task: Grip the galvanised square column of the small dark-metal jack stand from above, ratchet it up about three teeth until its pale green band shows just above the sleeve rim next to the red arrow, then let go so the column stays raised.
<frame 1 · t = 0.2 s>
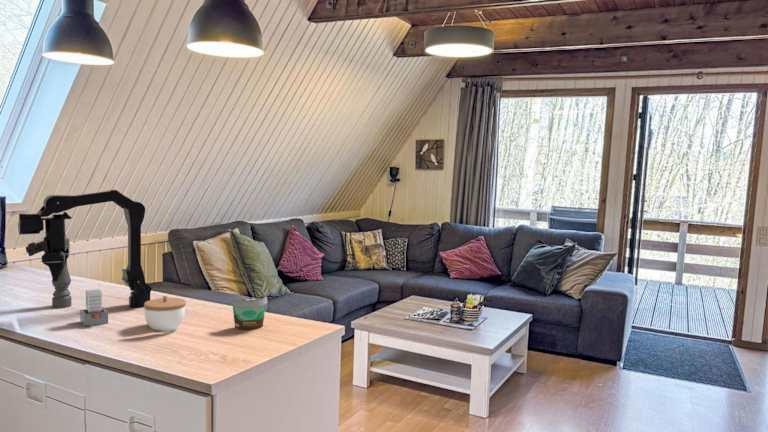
hand: (57, 278, 186), 14 cm above the worktop, tool pointing down, fingers open, 9 cm apart
candle holder: (62, 306, 204), on the worktop
column: (93, 306, 181), point 6 cm above the worktop, slide at 0.0 cm
lidded bowl: (165, 330, 180), on the worktop
stand base: (94, 325, 181), on the worktop
food container: (251, 328, 184), on the worktop
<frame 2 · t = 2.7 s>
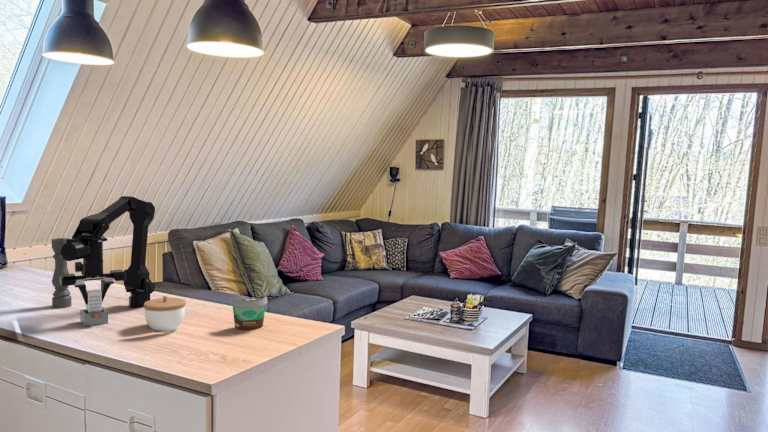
hand: (93, 303, 181), 8 cm above the worktop, tool pointing down, fingers closed on column, 4 cm apart
column: (93, 306, 181), point 6 cm above the worktop, slide at 0.0 cm, touching gripper
everything else where it was.
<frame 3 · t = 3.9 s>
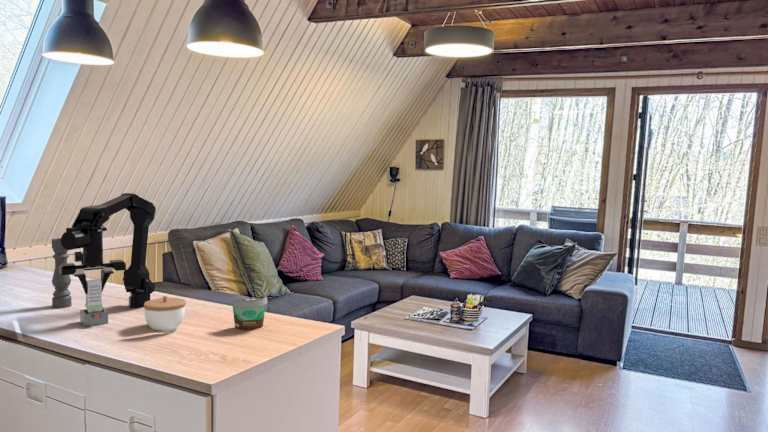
hand: (93, 293, 180), 11 cm above the worktop, tool pointing down, fingers closed on column, 4 cm apart
column: (93, 296, 180), point 10 cm above the worktop, slide at 3.4 cm, touching gripper
everything else where it was.
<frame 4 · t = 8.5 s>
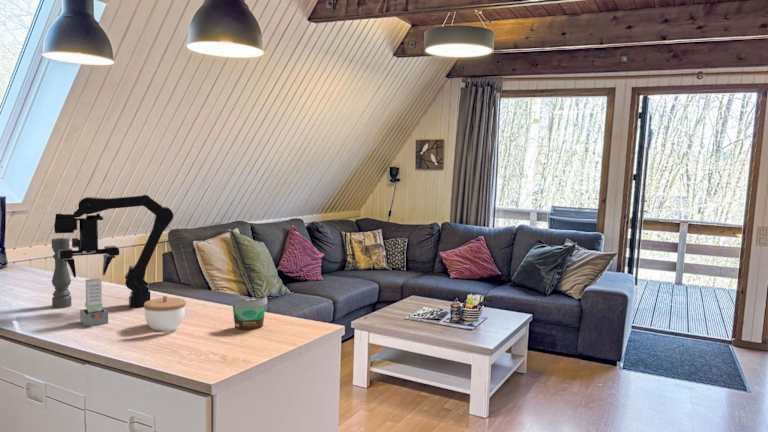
hand: (89, 276, 196), 13 cm above the worktop, tool pointing down, fingers open, 9 cm apart
column: (93, 296, 180), point 10 cm above the worktop, slide at 3.6 cm
everything else where it was.
at the end: column slide at 3.6 cm; the gripper is holding nothing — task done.
